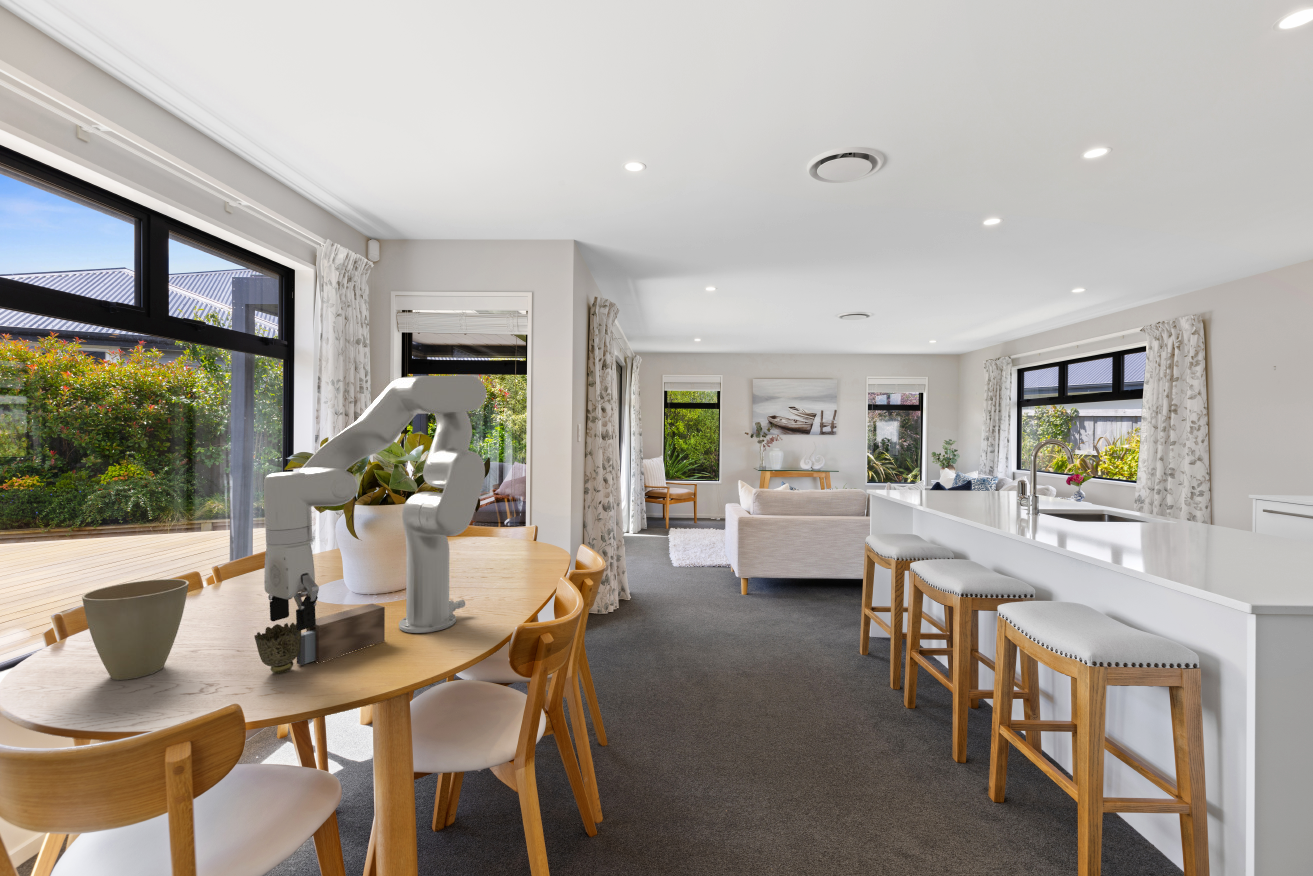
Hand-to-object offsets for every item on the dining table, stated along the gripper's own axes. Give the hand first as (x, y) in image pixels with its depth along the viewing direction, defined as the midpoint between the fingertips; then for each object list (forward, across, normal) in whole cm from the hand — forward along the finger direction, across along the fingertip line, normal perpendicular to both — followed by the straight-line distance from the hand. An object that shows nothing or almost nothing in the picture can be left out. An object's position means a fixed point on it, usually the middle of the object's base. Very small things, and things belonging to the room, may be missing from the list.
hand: (292, 623), depth 109 cm
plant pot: (+8, -23, -17) cm, 30 cm away
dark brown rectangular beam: (+9, 0, +10) cm, 14 cm away
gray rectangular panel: (+9, 0, +8) cm, 12 cm away
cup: (+9, 0, -2) cm, 9 cm away
